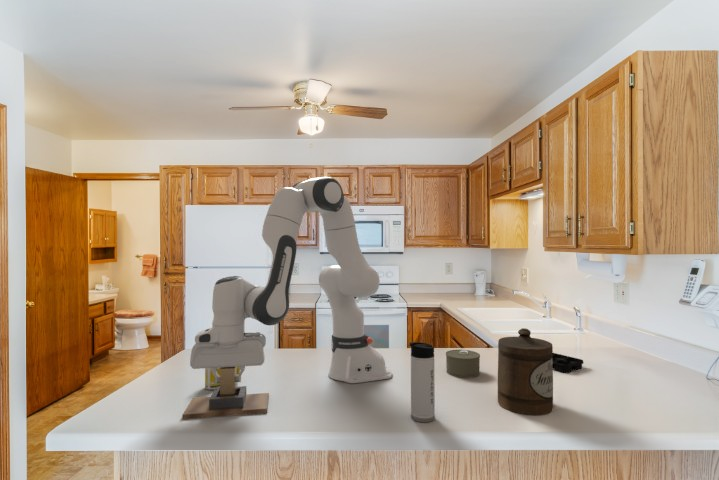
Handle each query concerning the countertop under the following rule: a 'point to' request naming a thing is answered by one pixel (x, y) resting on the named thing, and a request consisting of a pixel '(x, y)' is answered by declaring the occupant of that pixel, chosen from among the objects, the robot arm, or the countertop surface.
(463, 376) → the can
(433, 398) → the travel mug
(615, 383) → the countertop surface
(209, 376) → the supplement bottle
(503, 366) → the wooden container
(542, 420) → the countertop surface
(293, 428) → the countertop surface
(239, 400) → the collar
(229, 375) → the square bar
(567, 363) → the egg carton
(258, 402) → the dock board
